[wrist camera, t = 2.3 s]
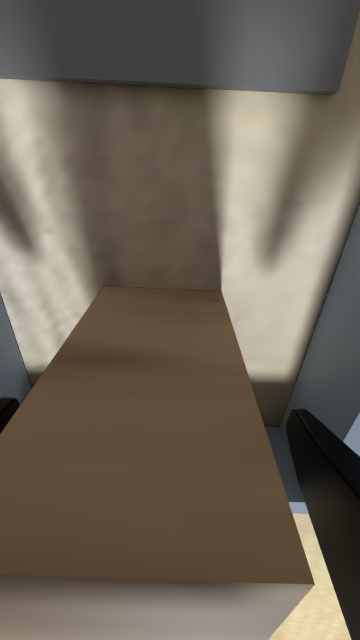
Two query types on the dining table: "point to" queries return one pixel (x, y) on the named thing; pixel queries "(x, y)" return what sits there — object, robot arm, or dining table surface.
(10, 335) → the open-front box
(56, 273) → the dining table surface
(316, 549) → the dining table surface
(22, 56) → the charcoal mat
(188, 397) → the walnut block
